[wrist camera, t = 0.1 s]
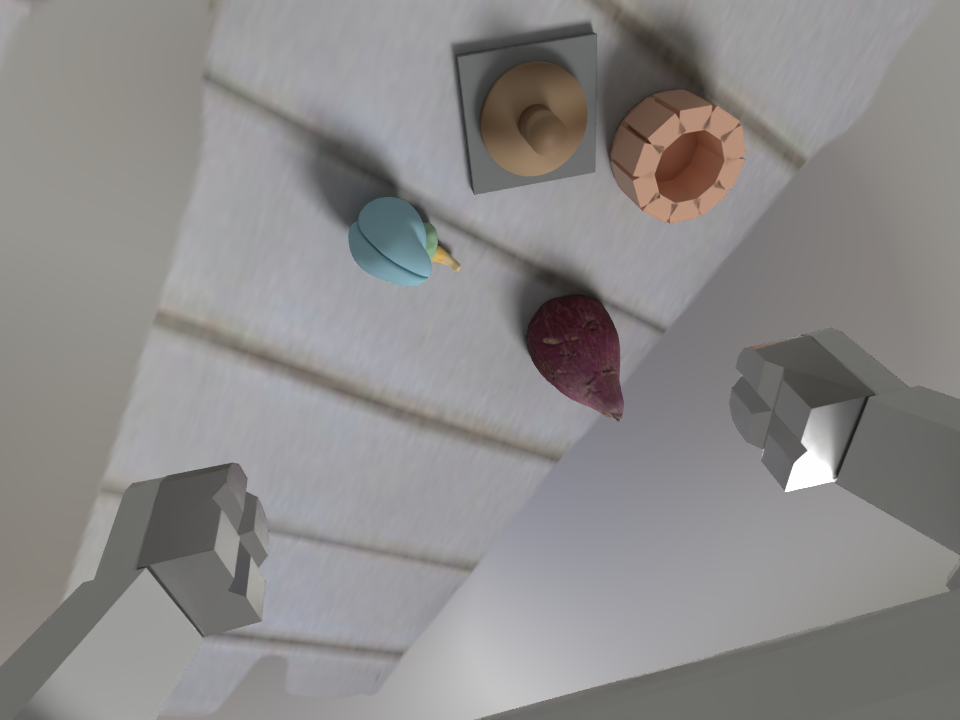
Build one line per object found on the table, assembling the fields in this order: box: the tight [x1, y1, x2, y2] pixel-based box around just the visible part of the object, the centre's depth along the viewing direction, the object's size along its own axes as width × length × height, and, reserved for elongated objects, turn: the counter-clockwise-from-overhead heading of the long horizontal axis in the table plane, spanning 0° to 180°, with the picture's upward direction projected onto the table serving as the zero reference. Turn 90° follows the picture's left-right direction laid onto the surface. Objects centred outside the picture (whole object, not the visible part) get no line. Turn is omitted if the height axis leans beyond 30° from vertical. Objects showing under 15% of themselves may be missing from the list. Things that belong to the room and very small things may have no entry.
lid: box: [480, 60, 588, 176], centre depth 52 cm, size 10×10×5 cm
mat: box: [456, 33, 597, 195], centre depth 54 cm, size 12×12×1 cm
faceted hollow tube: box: [610, 89, 746, 224], centre depth 57 cm, size 10×11×6 cm
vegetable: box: [525, 295, 624, 422], centre depth 66 cm, size 10×10×15 cm
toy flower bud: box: [348, 197, 461, 286], centre depth 56 cm, size 7×9×12 cm
